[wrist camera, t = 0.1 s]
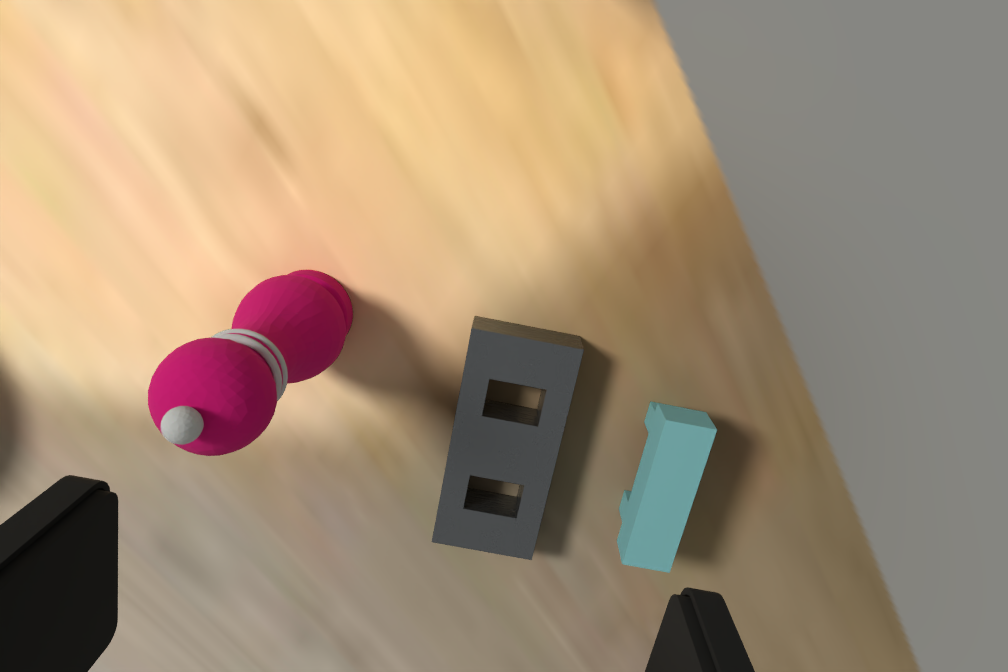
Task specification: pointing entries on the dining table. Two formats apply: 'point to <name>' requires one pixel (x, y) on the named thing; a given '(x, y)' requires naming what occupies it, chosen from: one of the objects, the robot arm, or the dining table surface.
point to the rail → (506, 437)
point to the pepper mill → (249, 363)
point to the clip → (664, 485)
